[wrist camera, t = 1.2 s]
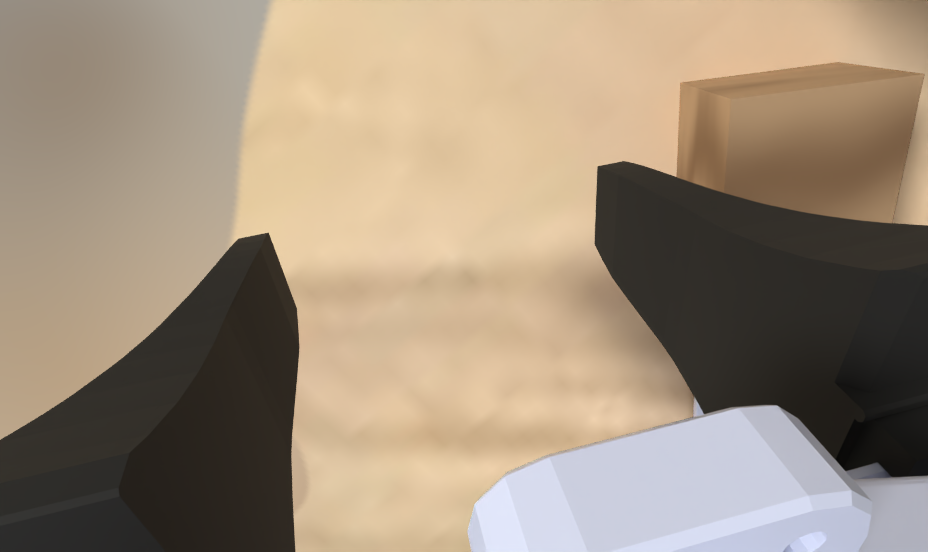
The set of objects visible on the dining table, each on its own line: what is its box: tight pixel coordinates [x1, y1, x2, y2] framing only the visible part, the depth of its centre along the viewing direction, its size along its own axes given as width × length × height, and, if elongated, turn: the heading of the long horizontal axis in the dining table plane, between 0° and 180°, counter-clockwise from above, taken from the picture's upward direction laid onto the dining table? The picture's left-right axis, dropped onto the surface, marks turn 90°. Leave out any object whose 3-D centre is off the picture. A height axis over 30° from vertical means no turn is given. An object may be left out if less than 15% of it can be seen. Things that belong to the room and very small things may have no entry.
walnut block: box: [677, 62, 924, 223], centre depth 21 cm, size 6×6×4 cm
